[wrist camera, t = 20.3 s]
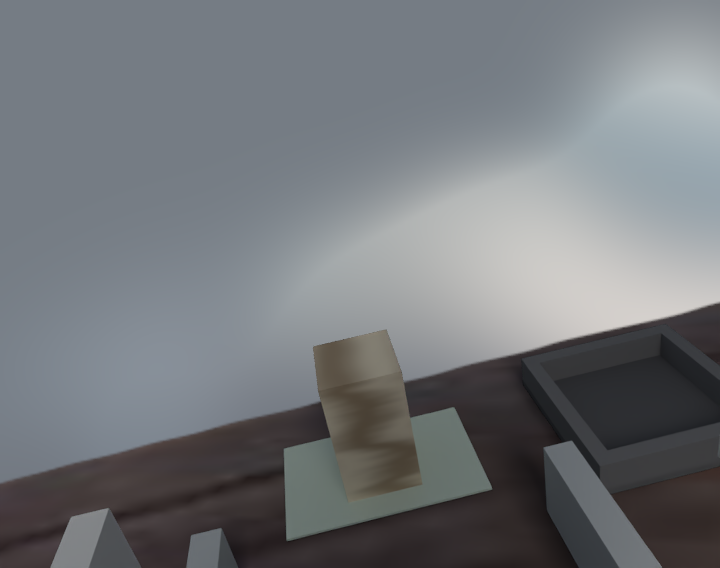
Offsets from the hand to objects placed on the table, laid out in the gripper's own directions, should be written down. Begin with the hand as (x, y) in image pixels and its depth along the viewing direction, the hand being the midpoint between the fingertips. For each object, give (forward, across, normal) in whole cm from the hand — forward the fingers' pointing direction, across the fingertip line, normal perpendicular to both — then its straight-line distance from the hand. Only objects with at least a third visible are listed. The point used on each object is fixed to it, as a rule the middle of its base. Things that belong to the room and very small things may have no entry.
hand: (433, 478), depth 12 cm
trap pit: (+26, +21, -26) cm, 42 cm away
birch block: (+27, -1, -25) cm, 37 cm away
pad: (+27, -1, -26) cm, 37 cm away
